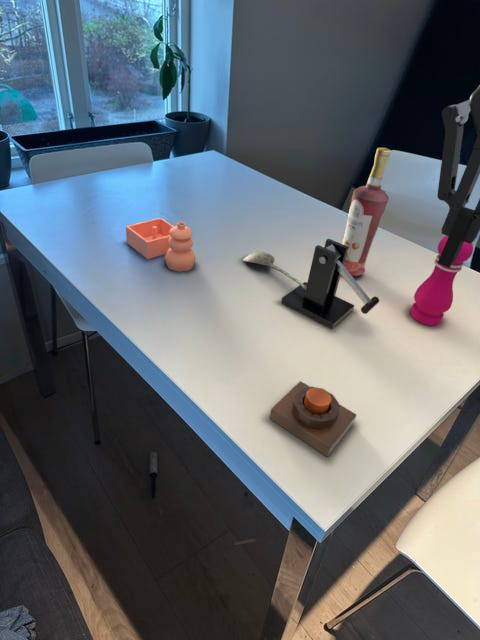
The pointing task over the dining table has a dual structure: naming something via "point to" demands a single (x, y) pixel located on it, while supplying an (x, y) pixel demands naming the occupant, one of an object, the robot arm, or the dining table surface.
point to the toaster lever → (354, 284)
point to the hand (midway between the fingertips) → (446, 261)
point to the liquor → (365, 216)
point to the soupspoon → (268, 263)
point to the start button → (317, 400)
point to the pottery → (163, 242)
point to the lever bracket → (322, 288)
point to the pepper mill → (438, 288)
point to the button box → (312, 420)
